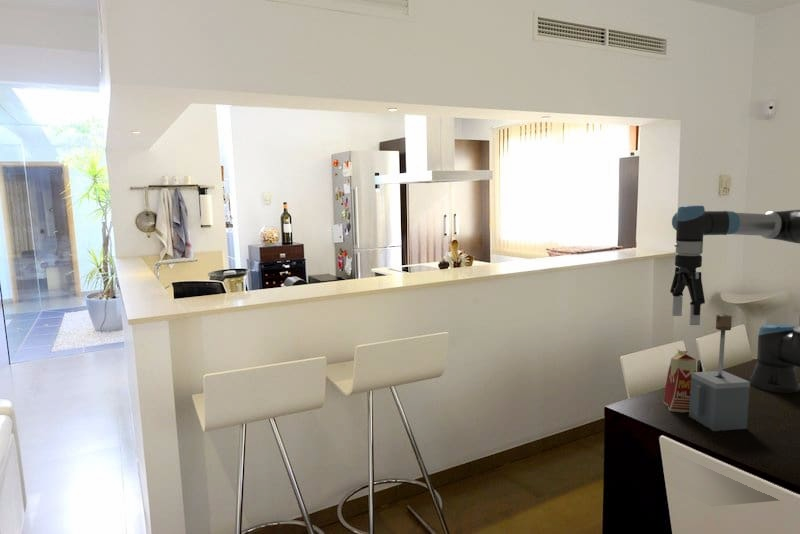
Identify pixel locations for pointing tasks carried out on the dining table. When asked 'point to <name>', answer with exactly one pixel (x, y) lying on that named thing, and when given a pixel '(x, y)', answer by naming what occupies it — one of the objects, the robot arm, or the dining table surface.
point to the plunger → (722, 338)
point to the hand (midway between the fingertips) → (685, 320)
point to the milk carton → (679, 382)
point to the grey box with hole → (719, 400)
